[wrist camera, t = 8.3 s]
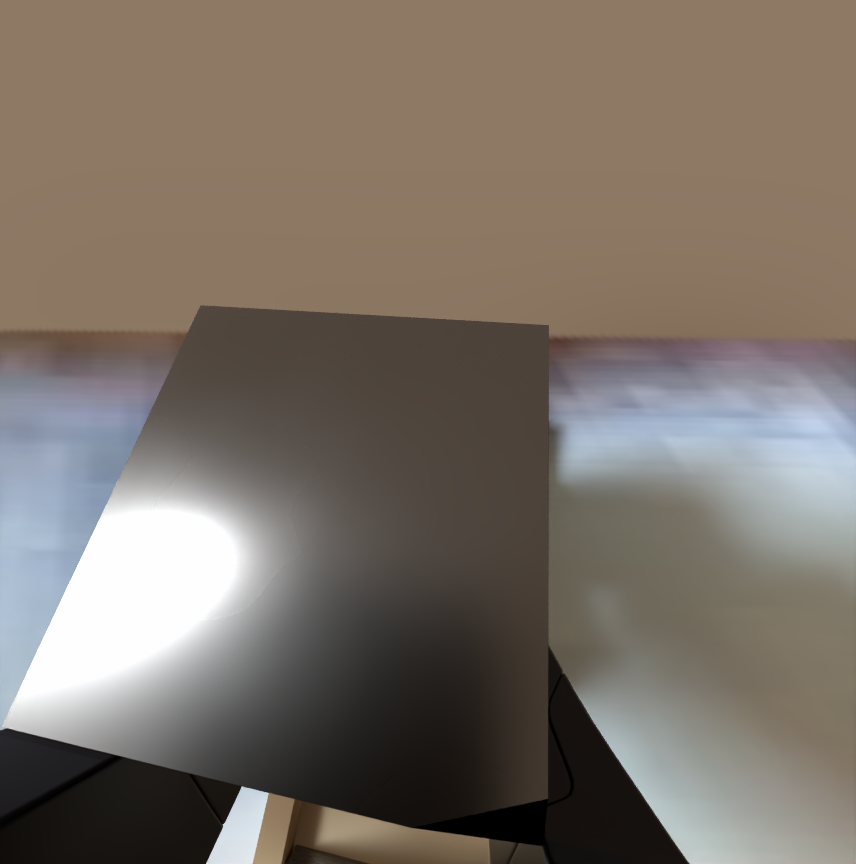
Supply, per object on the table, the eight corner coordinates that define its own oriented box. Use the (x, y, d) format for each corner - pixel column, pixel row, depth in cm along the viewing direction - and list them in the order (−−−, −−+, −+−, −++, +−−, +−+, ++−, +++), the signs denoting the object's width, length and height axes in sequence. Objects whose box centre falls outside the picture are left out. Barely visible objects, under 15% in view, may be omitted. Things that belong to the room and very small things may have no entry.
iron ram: (493, 620, 14) (840, 1240, 1) (347, 596, 14) (-239, 868, 2) (500, 483, 16) (670, 257, 3) (372, 469, 16) (139, 240, 4)
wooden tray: (516, 1014, 11) (531, 1124, 9) (248, 933, 12) (206, 1013, 10) (530, 424, 18) (540, 408, 16) (364, 408, 19) (353, 392, 17)
